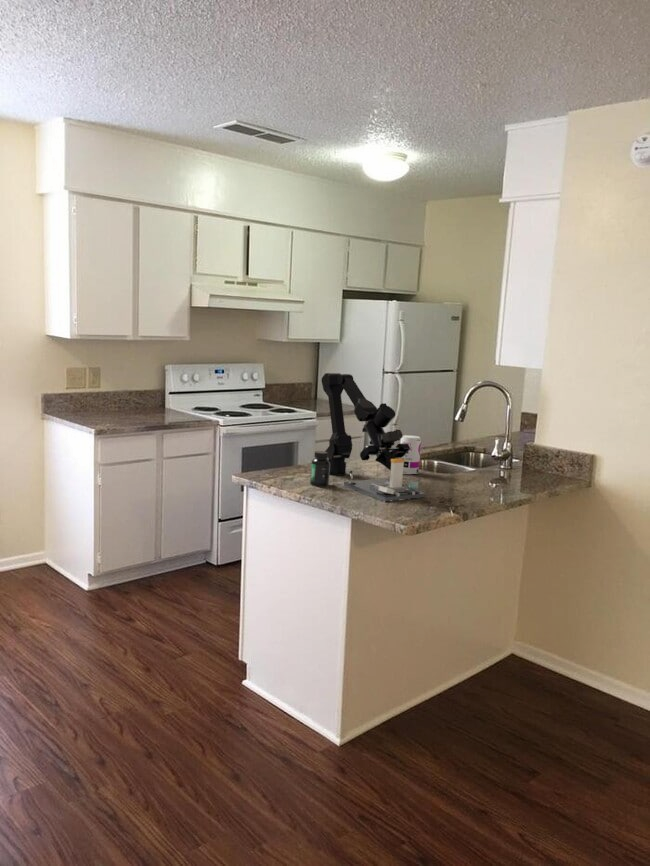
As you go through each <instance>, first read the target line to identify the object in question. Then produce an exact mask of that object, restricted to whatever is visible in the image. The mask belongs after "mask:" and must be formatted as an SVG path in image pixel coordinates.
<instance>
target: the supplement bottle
mask: <svg viewBox="0 0 650 866" xmlns="http://www.w3.org/2000/svg"><path fill="white" fill-rule="evenodd" d="M325 451H326V450H316V451H314V455H313V457H314V458H313V459H312V460H311V462H310V475H309V476H310V478H309V480H310V481H309V484H310V485H311V486H312V487H316V488H317V487H318V488H319V487H320V488H323V487H324V488H325V487H326V488H327V487H328V486H329V484H330V475H331V474H330V461H329V459H328V452H325Z"/></svg>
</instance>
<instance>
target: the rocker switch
mask: <svg viewBox="0 0 650 866" xmlns="http://www.w3.org/2000/svg"><path fill="white" fill-rule="evenodd" d="M378 490H380V491H383V492H386V493H390V494H394V490H392V489H390V488H387V487H383V486H379V489H378Z"/></svg>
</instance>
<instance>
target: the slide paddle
mask: <svg viewBox="0 0 650 866" xmlns="http://www.w3.org/2000/svg"><path fill="white" fill-rule="evenodd" d="M404 462H405V459H402V458H395V459H391V470H390V476H389V481H390V485H388V486H386V487H387V488H390V489H392V490H394V491H395V492H397V493H399V492H405V488H404V487H402V485H403V465H404Z"/></svg>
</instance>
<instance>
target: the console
mask: <svg viewBox="0 0 650 866" xmlns="http://www.w3.org/2000/svg"><path fill="white" fill-rule="evenodd" d="M388 485H390V479H387V478H383V477H382V478H373V479H361V480H359V479H358V480H349V481H348V480H347V481H343V487H345V486H346V487H345V488H347V489H350V488H351V490H353V489H354V490H353V491H355V490H357V491H356V492H358V491H359V492H358V493H360V492H362V493H361V494H363V493H365V494H367V495H366V496H368V495H370V496H373V497H375V498H374V499H376V498H378V499H381V500H383V501H390V500H399V499H408V500H410V499H409V498H417V499H421V498H420V497H425V498H426V492H422V491H421V490H419V489H418V490H411V489H408V486H406V485H403V484H402V487H404V488H405V492H399V493H397V492H395V491H394V494H390V493H386V492H383V491H380V490H378V489H379V486H383V487H386V486H388ZM365 494H364V495H365ZM370 496H369V497H370ZM373 497H372V498H373ZM378 499H377V500H378ZM381 500H380V501H381ZM383 501H382V502H383ZM399 501H400V500H399Z"/></svg>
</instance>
